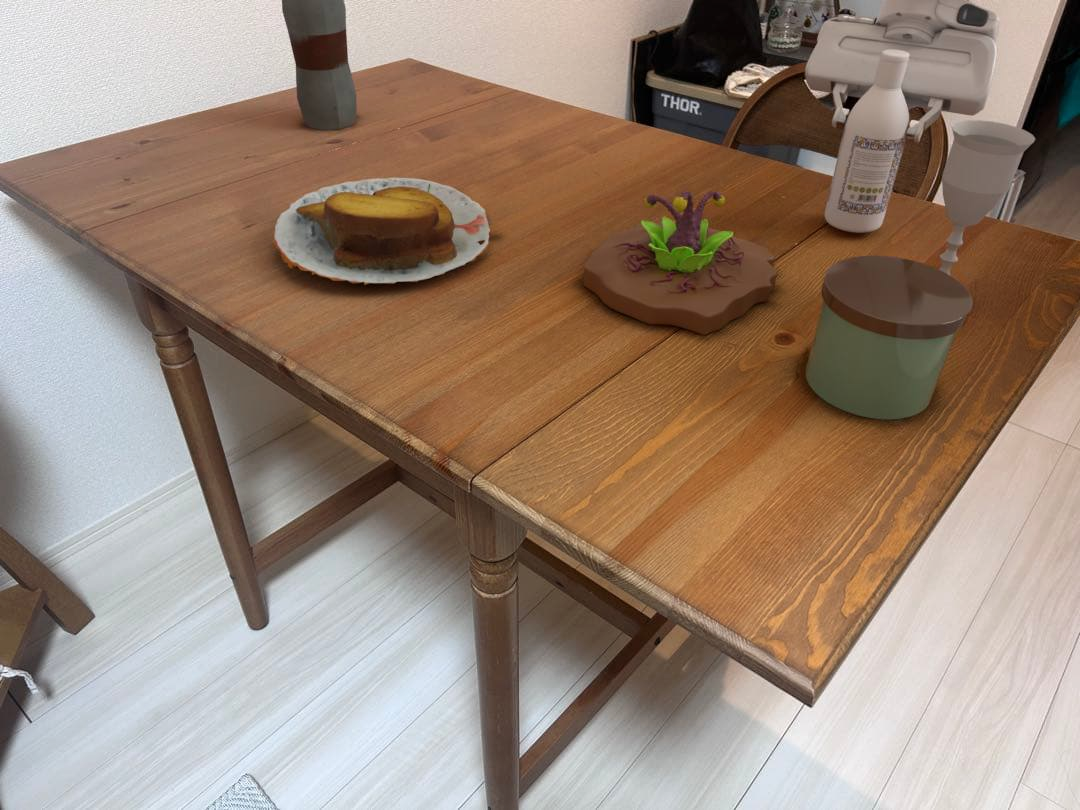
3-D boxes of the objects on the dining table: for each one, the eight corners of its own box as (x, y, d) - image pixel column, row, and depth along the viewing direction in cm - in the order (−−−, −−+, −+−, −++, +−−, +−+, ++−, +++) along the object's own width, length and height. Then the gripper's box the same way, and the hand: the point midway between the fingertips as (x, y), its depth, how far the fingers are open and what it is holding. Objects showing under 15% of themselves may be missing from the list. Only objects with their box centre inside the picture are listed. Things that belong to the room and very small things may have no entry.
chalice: (980, 298, 88) (1045, 133, 77) (956, 322, 84) (1021, 151, 73) (914, 275, 92) (967, 115, 81) (888, 297, 88) (940, 132, 77)
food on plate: (468, 191, 109) (466, 142, 105) (516, 279, 91) (516, 224, 86) (272, 211, 103) (262, 161, 99) (281, 310, 85) (269, 253, 81)
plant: (553, 291, 88) (555, 193, 81) (639, 227, 101) (648, 138, 94) (723, 351, 79) (742, 247, 72) (794, 272, 92) (816, 177, 85)
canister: (959, 385, 75) (998, 291, 69) (893, 441, 69) (929, 342, 63) (845, 332, 82) (870, 242, 76) (775, 378, 76) (797, 284, 70)
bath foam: (892, 231, 99) (943, 59, 87) (840, 237, 98) (884, 62, 86) (863, 208, 104) (906, 42, 92) (813, 213, 103) (850, 46, 91)
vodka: (300, 113, 133) (265, -101, 115) (357, 110, 135) (331, -102, 117) (301, 133, 126) (263, -92, 108) (361, 129, 128) (333, -93, 110)
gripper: (825, -4, 96) (784, 102, 95) (1015, 17, 87) (971, 134, 87) (827, 28, 101) (788, 129, 101) (1006, 52, 93) (964, 162, 92)
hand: (874, 132), depth 94 cm, fingers closed on bath foam, 7 cm apart
